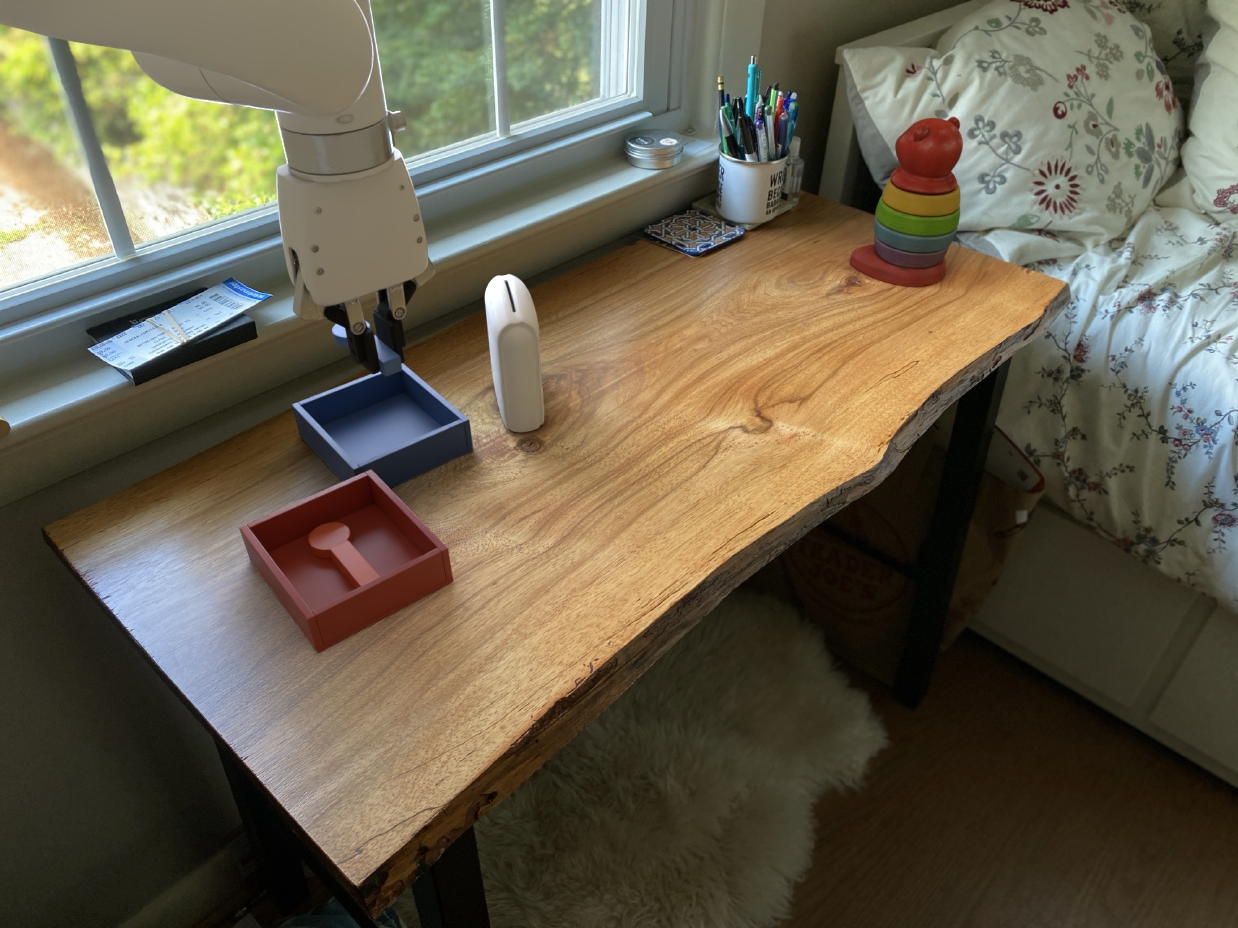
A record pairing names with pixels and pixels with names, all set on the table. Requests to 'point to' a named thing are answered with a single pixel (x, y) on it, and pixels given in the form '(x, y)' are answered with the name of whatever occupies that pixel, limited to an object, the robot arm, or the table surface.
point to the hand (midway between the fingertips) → (380, 360)
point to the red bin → (319, 587)
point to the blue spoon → (387, 357)
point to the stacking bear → (916, 208)
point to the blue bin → (383, 427)
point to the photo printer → (515, 353)
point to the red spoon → (341, 552)
